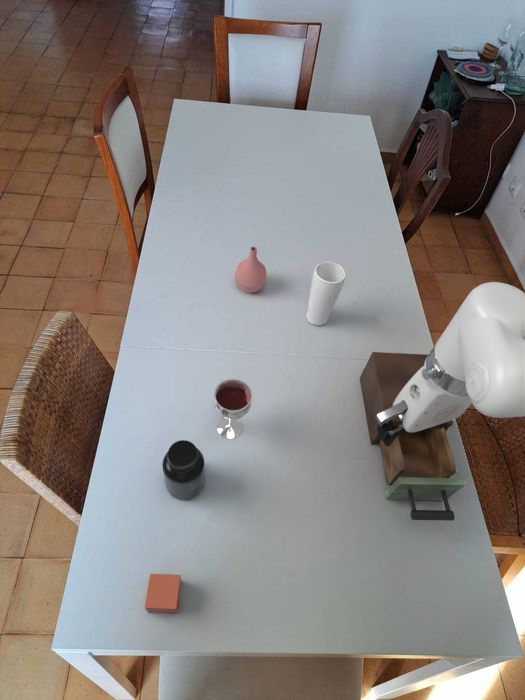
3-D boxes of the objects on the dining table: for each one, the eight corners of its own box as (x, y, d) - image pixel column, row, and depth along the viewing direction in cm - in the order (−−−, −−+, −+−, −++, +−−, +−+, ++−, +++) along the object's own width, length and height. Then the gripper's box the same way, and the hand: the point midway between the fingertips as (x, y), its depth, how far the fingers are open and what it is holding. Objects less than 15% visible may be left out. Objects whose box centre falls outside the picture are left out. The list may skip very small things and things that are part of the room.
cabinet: (432, 446, 91) (453, 423, 83) (371, 444, 89) (386, 421, 82) (415, 380, 100) (432, 354, 92) (359, 378, 99) (372, 351, 91)
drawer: (453, 528, 80) (474, 515, 74) (390, 528, 79) (406, 514, 73) (427, 428, 92) (443, 409, 86) (372, 427, 91) (384, 407, 85)
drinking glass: (301, 326, 106) (313, 279, 94) (304, 305, 110) (316, 258, 98) (329, 331, 106) (345, 285, 94) (331, 310, 110) (346, 264, 98)
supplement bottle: (202, 461, 84) (202, 431, 74) (206, 498, 80) (206, 471, 70) (165, 466, 83) (159, 436, 73) (166, 503, 79) (161, 477, 69)
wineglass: (205, 429, 88) (205, 397, 78) (226, 405, 91) (229, 372, 82) (233, 449, 86) (237, 419, 76) (254, 423, 90) (260, 391, 80)
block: (177, 613, 69) (176, 609, 65) (147, 612, 69) (144, 607, 65) (181, 580, 72) (180, 574, 68) (152, 579, 71) (150, 573, 68)
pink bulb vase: (241, 300, 109) (244, 263, 99) (229, 279, 113) (231, 241, 103) (270, 293, 111) (276, 256, 102) (257, 272, 115) (262, 235, 106)
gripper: (416, 409, 53) (373, 467, 67) (528, 374, 58) (467, 434, 72) (384, 359, 57) (350, 423, 71) (492, 330, 62) (441, 395, 76)
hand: (409, 429), depth 71 cm, fingers open, 9 cm apart
